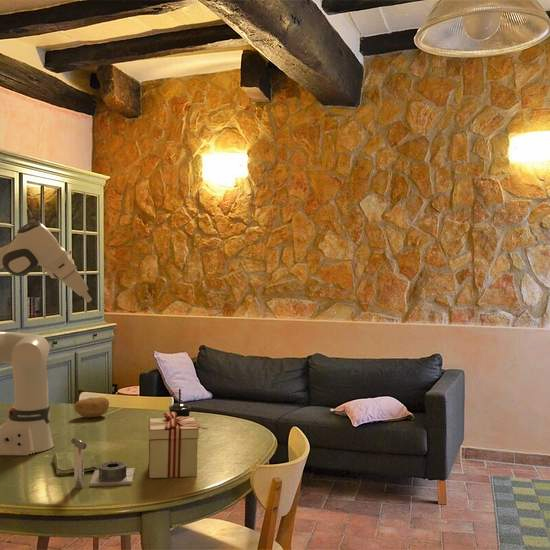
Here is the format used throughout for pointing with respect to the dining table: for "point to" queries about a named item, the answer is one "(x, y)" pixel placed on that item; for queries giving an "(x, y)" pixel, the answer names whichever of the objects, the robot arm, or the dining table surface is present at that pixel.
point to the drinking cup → (180, 408)
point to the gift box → (173, 446)
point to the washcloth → (66, 462)
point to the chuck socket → (112, 474)
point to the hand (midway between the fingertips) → (85, 297)
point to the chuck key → (78, 463)
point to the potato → (92, 407)
